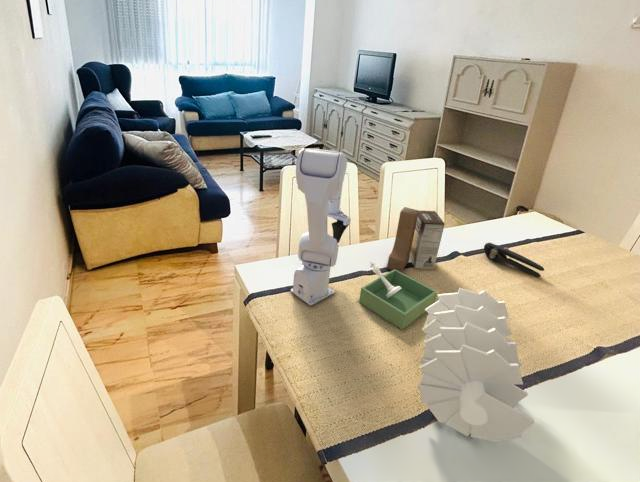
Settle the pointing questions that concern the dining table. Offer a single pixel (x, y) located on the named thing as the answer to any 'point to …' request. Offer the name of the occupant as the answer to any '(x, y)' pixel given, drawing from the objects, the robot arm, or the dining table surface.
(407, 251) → the wooden block
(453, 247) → the dining table surface
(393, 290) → the chess piece
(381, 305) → the basket
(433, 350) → the spiral staircase
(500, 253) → the can opener
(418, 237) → the coffee box
